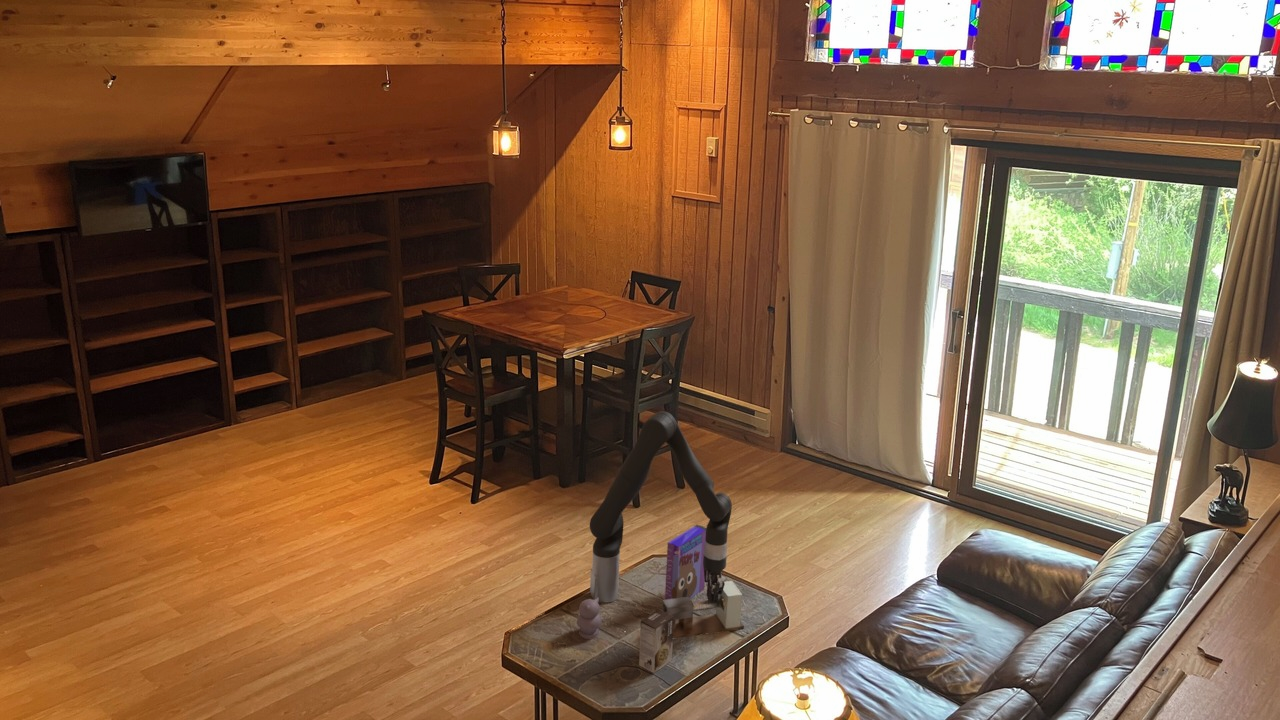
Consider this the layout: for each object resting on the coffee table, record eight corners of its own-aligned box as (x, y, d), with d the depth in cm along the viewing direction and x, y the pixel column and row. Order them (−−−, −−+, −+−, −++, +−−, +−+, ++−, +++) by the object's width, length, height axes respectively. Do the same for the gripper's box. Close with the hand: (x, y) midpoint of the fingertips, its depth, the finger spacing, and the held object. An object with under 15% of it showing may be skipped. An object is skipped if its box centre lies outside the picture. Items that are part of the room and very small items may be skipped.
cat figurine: (586, 623, 331) (587, 591, 327) (606, 630, 327) (607, 598, 323) (571, 635, 324) (572, 603, 320) (591, 643, 320) (592, 610, 316)
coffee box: (656, 652, 316) (658, 608, 311) (672, 661, 312) (674, 615, 307) (638, 665, 309) (639, 619, 304) (654, 673, 305) (656, 627, 301)
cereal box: (675, 609, 341) (679, 546, 334) (664, 604, 344) (667, 542, 336) (704, 589, 354) (708, 528, 347) (693, 584, 357) (696, 524, 350)
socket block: (725, 628, 329) (727, 596, 325) (715, 614, 337) (718, 582, 334) (739, 626, 330) (742, 594, 327) (729, 612, 339) (731, 580, 335)
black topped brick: (681, 614, 326) (682, 593, 323) (678, 609, 329) (679, 588, 326) (727, 608, 330) (728, 587, 328) (723, 603, 333) (725, 582, 331)
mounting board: (666, 639, 323) (668, 611, 320) (658, 624, 332) (659, 596, 328) (743, 628, 331) (745, 600, 328) (733, 614, 339) (735, 587, 336)
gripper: (696, 544, 330) (694, 590, 335) (712, 565, 317) (709, 612, 322) (718, 541, 332) (715, 587, 337) (734, 562, 319) (730, 609, 324)
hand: (712, 599), depth 329 cm, fingers closed on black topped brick, 3 cm apart
